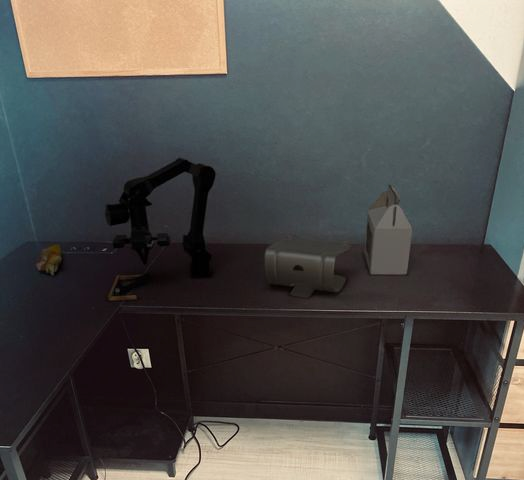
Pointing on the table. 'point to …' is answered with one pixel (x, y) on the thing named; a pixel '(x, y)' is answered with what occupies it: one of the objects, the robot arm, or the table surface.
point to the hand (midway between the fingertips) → (145, 264)
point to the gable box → (387, 236)
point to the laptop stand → (304, 265)
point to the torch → (50, 259)
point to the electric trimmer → (131, 283)
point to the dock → (118, 278)
